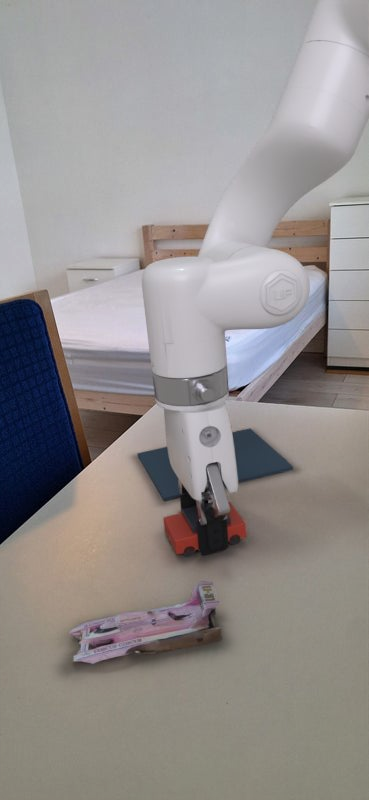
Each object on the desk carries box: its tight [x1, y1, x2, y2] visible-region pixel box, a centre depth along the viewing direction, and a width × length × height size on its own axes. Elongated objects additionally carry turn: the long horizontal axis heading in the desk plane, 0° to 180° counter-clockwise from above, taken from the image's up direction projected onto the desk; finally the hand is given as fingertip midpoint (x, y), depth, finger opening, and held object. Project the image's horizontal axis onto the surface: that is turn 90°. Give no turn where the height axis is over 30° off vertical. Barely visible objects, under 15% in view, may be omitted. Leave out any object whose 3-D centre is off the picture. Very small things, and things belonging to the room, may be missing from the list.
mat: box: [137, 427, 294, 502], centre depth 83 cm, size 18×14×1 cm
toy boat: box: [69, 580, 222, 665], centre depth 52 cm, size 13×6×4 cm, turn 98°
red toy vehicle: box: [162, 501, 247, 558], centre depth 66 cm, size 8×3×5 cm
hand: (204, 535), depth 67 cm, fingers closed on red toy vehicle, 5 cm apart
